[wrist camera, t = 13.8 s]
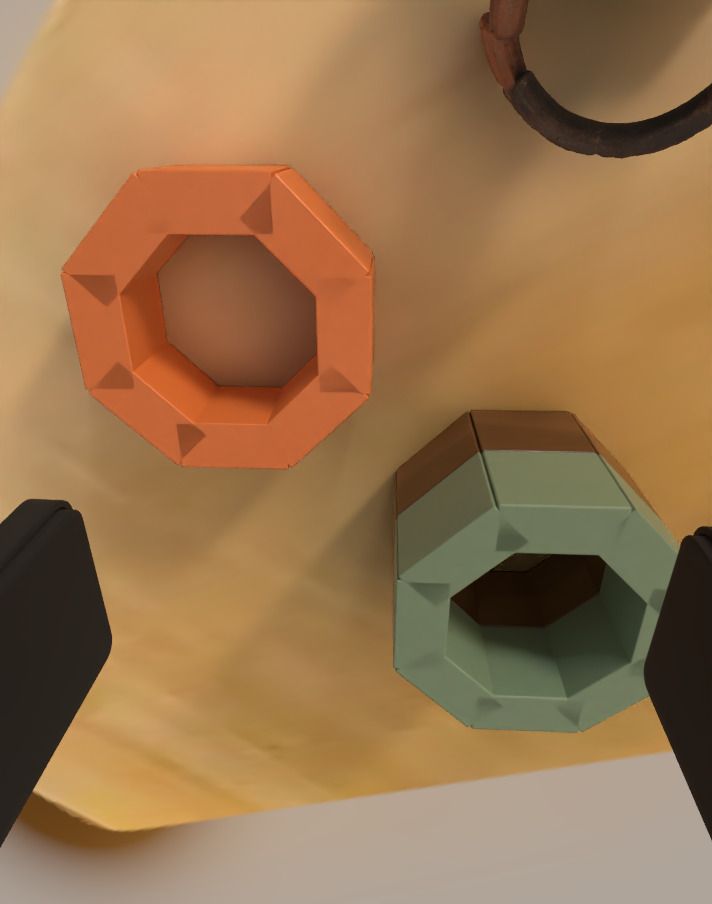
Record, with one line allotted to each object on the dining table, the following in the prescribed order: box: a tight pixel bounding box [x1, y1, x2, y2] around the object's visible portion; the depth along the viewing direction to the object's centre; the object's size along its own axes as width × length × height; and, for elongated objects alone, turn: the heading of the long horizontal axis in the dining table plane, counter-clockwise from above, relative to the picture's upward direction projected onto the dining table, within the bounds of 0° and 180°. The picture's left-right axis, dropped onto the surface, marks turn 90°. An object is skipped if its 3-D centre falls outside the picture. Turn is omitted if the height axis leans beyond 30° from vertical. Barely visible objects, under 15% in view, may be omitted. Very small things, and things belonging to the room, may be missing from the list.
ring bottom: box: [393, 410, 660, 628], centre depth 28 cm, size 11×11×4 cm
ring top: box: [61, 165, 375, 469], centre depth 24 cm, size 11×11×4 cm
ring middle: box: [393, 451, 680, 733], centre depth 24 cm, size 11×11×4 cm
